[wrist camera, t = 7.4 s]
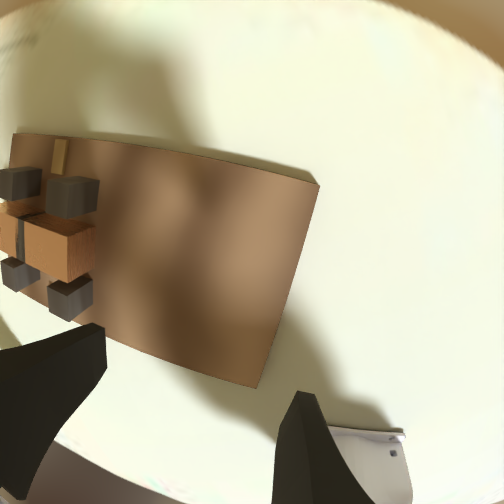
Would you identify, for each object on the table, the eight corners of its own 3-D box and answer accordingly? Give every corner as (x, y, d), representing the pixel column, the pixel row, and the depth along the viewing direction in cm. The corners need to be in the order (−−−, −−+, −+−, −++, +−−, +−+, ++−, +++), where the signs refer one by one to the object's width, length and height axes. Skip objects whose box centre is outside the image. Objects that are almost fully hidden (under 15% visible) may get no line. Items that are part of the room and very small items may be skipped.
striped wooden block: (96, 226, 17) (67, 237, 15) (94, 267, 18) (67, 283, 15) (13, 200, 18) (-13, 206, 15) (13, 234, 19) (-12, 243, 16)
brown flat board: (318, 185, 16) (326, 190, 12) (257, 381, 20) (250, 419, 16) (19, 133, 17) (-14, 134, 14) (16, 283, 22) (-10, 297, 18)
